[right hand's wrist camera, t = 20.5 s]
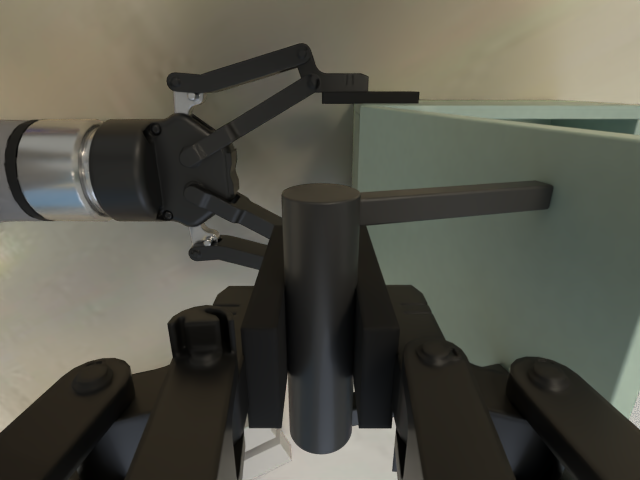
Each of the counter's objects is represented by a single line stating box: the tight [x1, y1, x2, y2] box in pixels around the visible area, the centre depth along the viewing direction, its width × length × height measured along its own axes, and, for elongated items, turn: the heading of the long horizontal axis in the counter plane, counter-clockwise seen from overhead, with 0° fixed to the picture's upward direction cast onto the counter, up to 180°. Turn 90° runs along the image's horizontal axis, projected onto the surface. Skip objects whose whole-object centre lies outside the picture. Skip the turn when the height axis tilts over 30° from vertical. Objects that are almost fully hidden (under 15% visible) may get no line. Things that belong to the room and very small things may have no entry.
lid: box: [282, 106, 640, 454], centre depth 16 cm, size 18×10×8 cm
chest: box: [352, 100, 640, 190], centre depth 31 cm, size 18×10×11 cm, turn 90°
